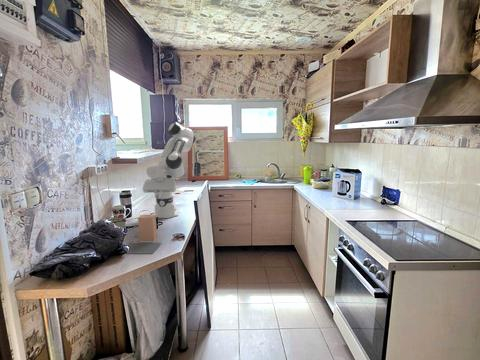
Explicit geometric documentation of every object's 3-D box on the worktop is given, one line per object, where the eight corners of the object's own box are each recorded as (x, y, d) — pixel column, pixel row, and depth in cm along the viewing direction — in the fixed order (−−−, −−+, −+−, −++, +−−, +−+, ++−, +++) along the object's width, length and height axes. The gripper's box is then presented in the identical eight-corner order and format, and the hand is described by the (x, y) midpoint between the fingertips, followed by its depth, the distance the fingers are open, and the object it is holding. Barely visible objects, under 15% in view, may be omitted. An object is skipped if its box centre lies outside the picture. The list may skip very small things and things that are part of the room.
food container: (122, 232, 161) (121, 216, 159) (127, 234, 157) (126, 218, 155) (101, 237, 151) (100, 221, 150) (106, 240, 148) (104, 223, 146)
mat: (129, 243, 143) (129, 242, 143) (162, 243, 142) (162, 242, 142) (116, 253, 129) (116, 253, 129) (152, 253, 128) (152, 253, 128)
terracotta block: (143, 238, 149) (141, 215, 147) (157, 238, 149) (155, 215, 147) (139, 242, 144) (138, 217, 142) (154, 242, 144) (152, 217, 142)
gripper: (143, 176, 166) (138, 194, 157) (175, 176, 165) (172, 194, 157) (147, 182, 171) (142, 200, 162) (178, 181, 170) (174, 199, 162)
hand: (157, 197), depth 160 cm, fingers closed
